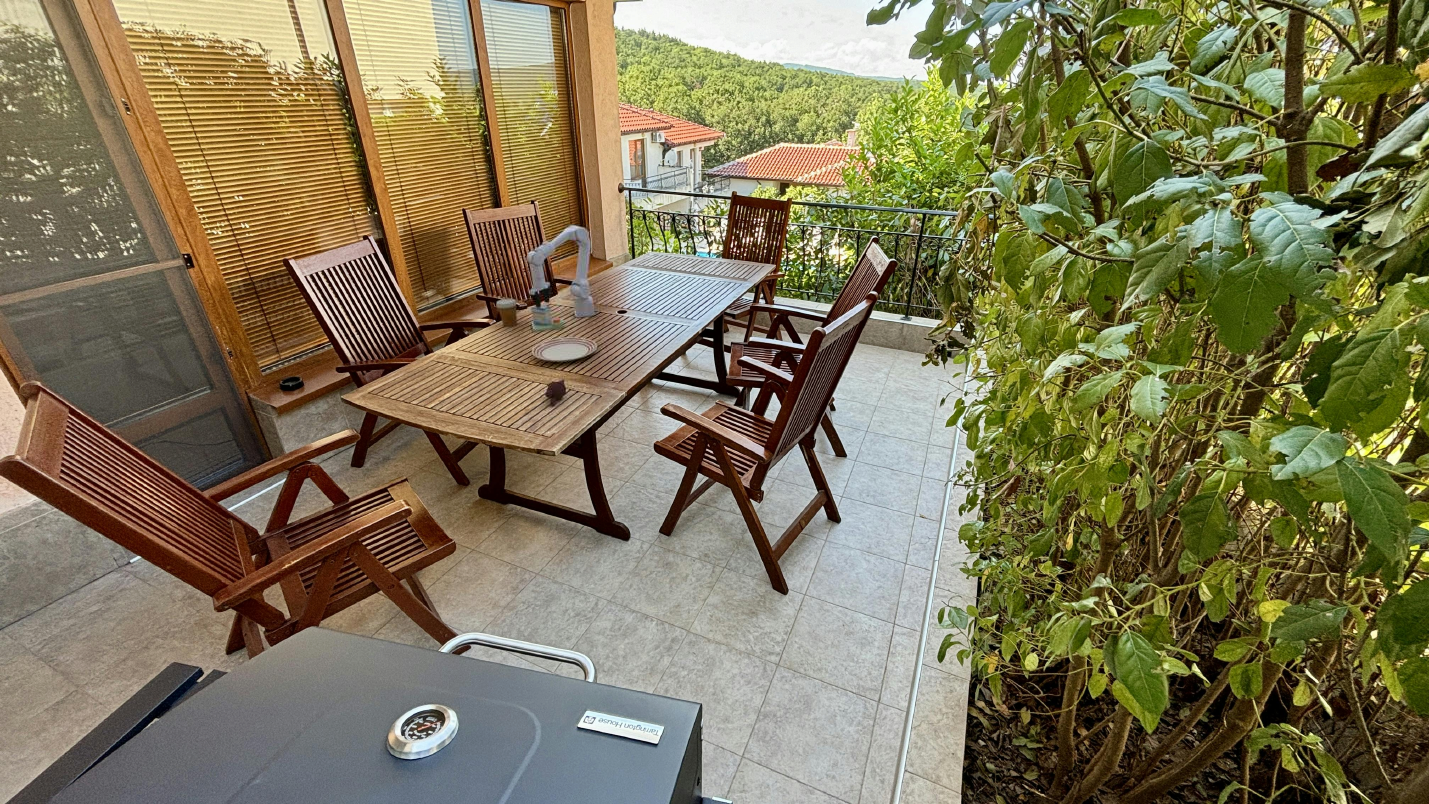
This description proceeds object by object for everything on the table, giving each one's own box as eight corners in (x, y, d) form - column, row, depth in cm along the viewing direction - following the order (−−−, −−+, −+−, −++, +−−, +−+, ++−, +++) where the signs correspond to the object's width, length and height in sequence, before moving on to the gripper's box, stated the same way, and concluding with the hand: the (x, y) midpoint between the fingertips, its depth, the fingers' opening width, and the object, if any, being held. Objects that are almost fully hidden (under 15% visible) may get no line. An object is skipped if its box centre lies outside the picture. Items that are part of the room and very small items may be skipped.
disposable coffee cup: (523, 321, 299) (519, 298, 293) (515, 328, 290) (511, 304, 285) (505, 321, 300) (500, 298, 294) (497, 327, 291) (492, 304, 286)
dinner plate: (575, 338, 276) (574, 331, 275) (610, 353, 259) (609, 346, 257) (521, 355, 259) (519, 348, 258) (554, 372, 242) (553, 365, 240)
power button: (559, 320, 290) (559, 317, 290) (560, 322, 288) (559, 319, 287) (553, 321, 290) (552, 318, 289) (553, 323, 287) (553, 320, 286)
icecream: (551, 373, 225) (535, 394, 213) (568, 370, 223) (553, 390, 211) (558, 389, 229) (543, 410, 216) (575, 385, 227) (561, 407, 214)
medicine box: (533, 324, 290) (530, 307, 286) (538, 321, 294) (535, 304, 290) (547, 325, 288) (545, 308, 284) (552, 322, 292) (549, 305, 288)
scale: (561, 320, 299) (560, 314, 297) (564, 328, 288) (563, 322, 287) (531, 324, 295) (530, 318, 293) (533, 332, 284) (532, 326, 283)
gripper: (537, 281, 275) (542, 310, 282) (553, 273, 288) (557, 300, 294) (524, 281, 277) (529, 309, 283) (540, 272, 289) (545, 299, 296)
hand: (542, 304), depth 289 cm, fingers open, 7 cm apart
